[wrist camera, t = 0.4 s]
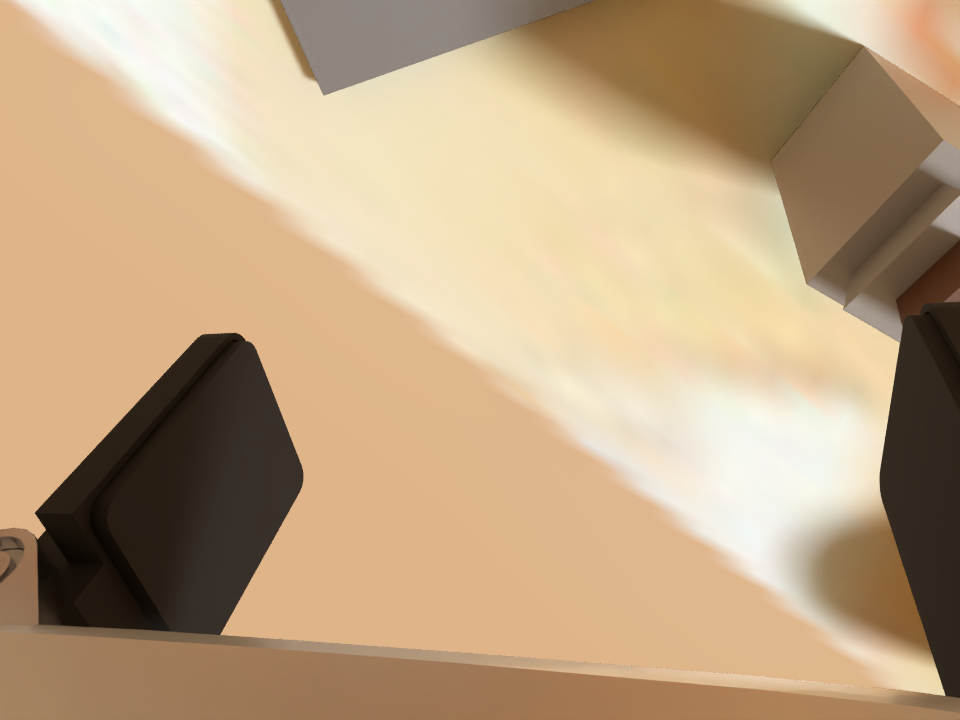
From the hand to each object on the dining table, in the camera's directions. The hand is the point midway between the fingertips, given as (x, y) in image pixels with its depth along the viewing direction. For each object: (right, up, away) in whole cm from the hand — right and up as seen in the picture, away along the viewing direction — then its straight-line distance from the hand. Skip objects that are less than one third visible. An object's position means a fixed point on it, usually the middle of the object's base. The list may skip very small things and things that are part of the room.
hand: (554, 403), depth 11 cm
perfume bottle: (+19, +12, +28) cm, 36 cm away
